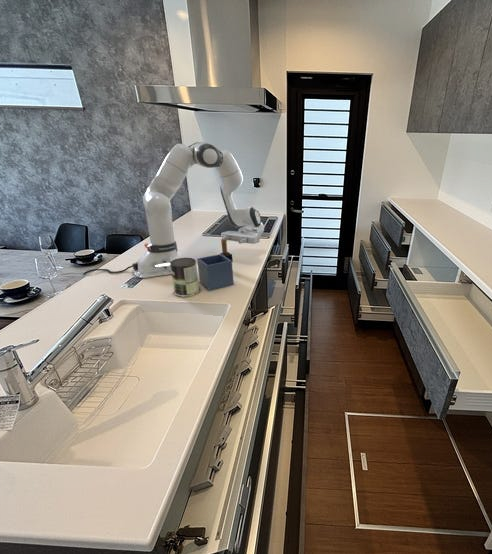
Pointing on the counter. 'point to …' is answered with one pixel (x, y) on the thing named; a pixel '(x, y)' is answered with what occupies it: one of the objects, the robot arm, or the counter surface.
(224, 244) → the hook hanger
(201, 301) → the counter surface
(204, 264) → the bin
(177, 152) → the robot arm
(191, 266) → the coffee can
